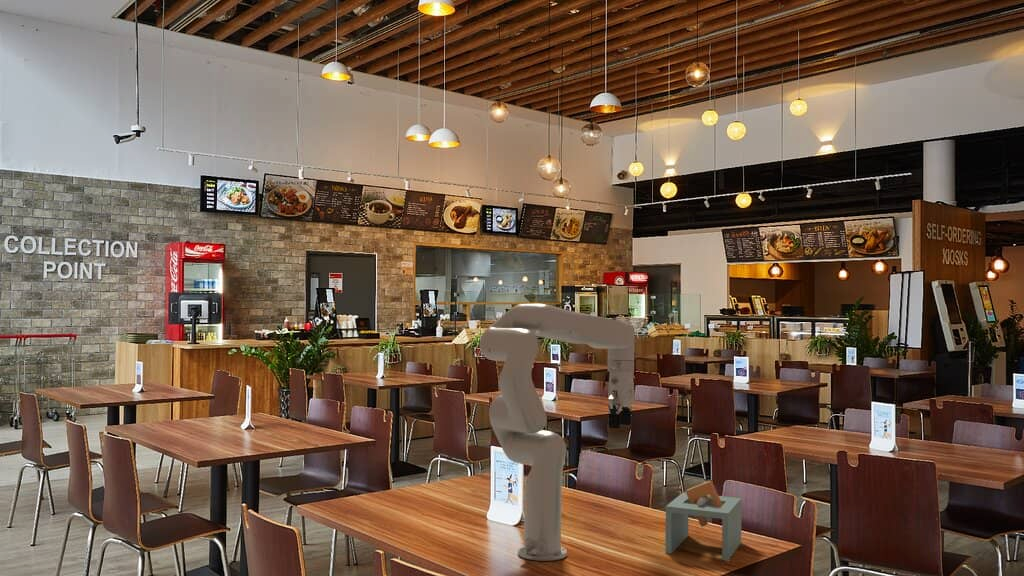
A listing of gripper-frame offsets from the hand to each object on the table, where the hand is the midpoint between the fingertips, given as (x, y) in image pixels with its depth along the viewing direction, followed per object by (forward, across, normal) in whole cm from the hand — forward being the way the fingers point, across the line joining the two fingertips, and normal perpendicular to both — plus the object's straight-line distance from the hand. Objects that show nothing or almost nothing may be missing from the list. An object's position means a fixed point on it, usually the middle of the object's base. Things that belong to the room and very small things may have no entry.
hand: (620, 426), depth 229 cm
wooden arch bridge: (+23, -3, -28) cm, 36 cm away
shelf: (+30, -3, -25) cm, 39 cm away
